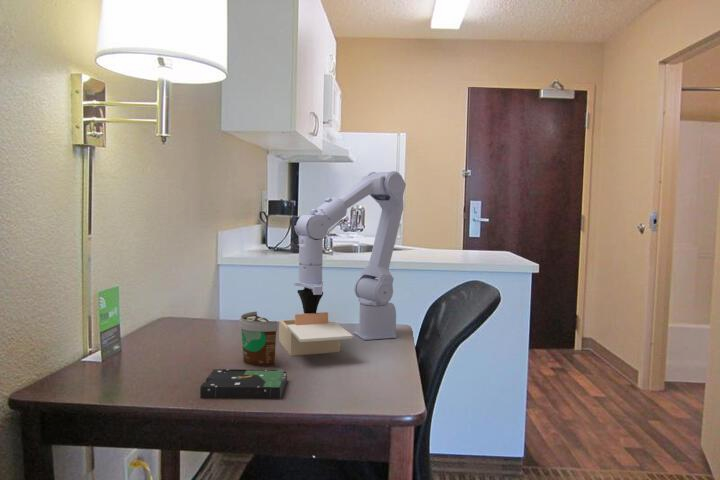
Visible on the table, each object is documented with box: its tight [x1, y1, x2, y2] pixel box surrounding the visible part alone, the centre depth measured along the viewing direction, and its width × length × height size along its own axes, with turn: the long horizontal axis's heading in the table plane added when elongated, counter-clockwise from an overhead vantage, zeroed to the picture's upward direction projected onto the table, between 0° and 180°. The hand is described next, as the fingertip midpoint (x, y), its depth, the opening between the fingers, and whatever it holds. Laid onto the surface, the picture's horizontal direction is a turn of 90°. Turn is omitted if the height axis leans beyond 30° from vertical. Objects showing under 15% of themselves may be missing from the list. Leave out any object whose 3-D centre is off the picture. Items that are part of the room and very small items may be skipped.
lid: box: [287, 311, 354, 342], centre depth 124 cm, size 12×14×3 cm
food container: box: [237, 310, 279, 367], centre depth 119 cm, size 12×6×10 cm, turn 33°
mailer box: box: [278, 318, 341, 357], centre depth 133 cm, size 12×14×5 cm
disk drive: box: [199, 368, 288, 400], centre depth 102 cm, size 10×3×15 cm
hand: (309, 319), depth 131 cm, fingers closed
